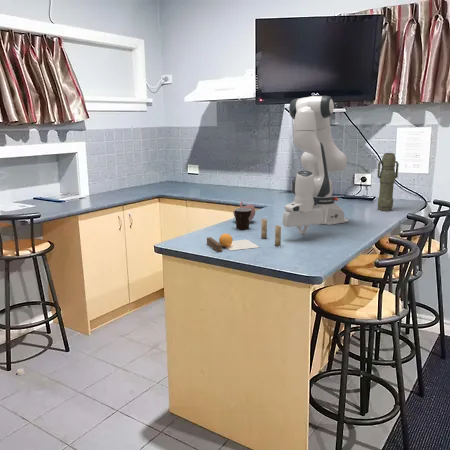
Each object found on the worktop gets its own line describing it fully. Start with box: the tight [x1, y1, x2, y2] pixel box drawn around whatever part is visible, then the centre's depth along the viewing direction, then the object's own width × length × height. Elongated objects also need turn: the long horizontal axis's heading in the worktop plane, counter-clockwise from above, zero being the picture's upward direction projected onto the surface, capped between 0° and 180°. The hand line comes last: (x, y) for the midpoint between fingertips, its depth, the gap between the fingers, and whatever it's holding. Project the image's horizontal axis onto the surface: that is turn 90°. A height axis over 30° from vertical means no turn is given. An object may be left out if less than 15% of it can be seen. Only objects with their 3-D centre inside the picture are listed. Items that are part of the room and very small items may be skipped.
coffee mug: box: [234, 207, 251, 231], centre depth 240 cm, size 12×9×10 cm
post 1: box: [260, 218, 268, 240], centre depth 223 cm, size 3×3×9 cm
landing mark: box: [218, 239, 260, 252], centre depth 212 cm, size 14×14×1 cm
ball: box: [218, 233, 234, 248], centre depth 208 cm, size 6×6×6 cm
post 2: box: [274, 225, 282, 247], centre depth 210 cm, size 3×3×9 cm
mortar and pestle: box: [232, 201, 256, 222], centre depth 256 cm, size 12×12×11 cm
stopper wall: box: [206, 236, 223, 253], centre depth 207 cm, size 2×14×3 cm, turn 21°
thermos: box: [376, 152, 400, 212], centre depth 286 cm, size 9×12×35 cm
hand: (302, 234), depth 223 cm, fingers closed
